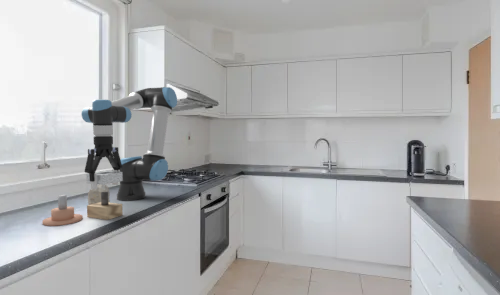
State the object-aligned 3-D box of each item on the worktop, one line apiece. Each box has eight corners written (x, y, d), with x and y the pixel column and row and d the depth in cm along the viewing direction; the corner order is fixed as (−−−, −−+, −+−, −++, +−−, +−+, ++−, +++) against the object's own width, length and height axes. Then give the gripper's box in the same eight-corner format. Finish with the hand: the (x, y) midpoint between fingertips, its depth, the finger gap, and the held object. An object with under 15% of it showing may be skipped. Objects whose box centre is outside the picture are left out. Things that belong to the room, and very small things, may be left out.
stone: (91, 211, 138) (90, 186, 137) (86, 209, 141) (85, 185, 141) (112, 206, 146) (112, 183, 146) (107, 205, 149) (107, 182, 149)
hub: (68, 214, 132) (67, 191, 131) (90, 218, 126) (89, 193, 126) (34, 223, 119) (33, 197, 118) (57, 227, 113) (56, 200, 113)
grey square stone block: (106, 179, 136) (106, 170, 136) (122, 180, 132) (122, 171, 132) (86, 183, 127) (86, 173, 126) (103, 184, 123) (103, 175, 122)
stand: (103, 212, 136) (102, 189, 135) (122, 215, 131) (122, 191, 130) (87, 216, 128) (86, 192, 128) (107, 220, 123) (106, 195, 123)
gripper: (117, 135, 140) (119, 181, 141) (72, 136, 119) (75, 190, 120) (129, 135, 137) (131, 182, 138) (85, 136, 116) (87, 192, 118)
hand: (105, 186), depth 129 cm, fingers closed on grey square stone block, 10 cm apart
